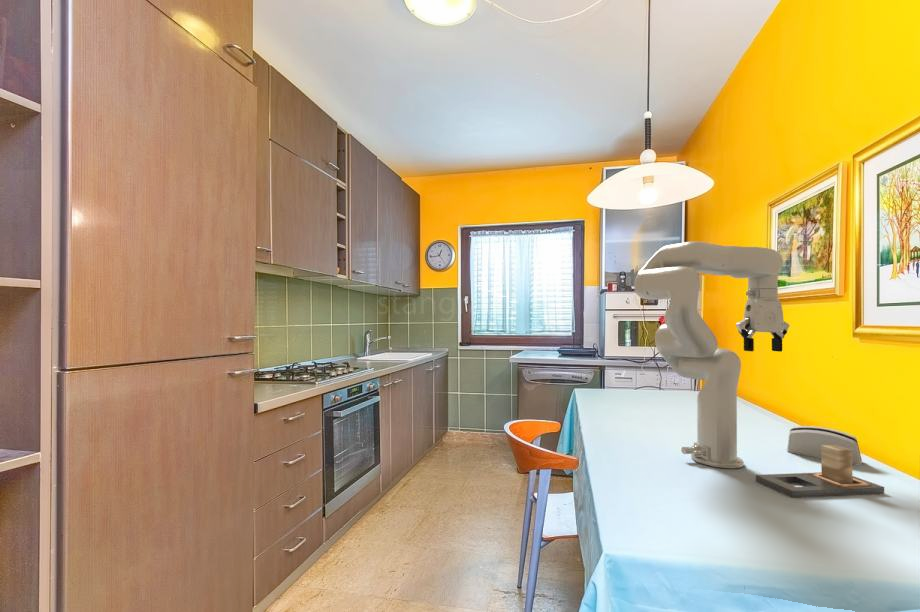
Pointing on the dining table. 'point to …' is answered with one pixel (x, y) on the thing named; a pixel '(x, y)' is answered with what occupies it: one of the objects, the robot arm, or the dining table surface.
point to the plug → (836, 463)
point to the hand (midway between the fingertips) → (762, 351)
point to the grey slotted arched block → (820, 441)
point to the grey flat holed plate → (816, 485)
